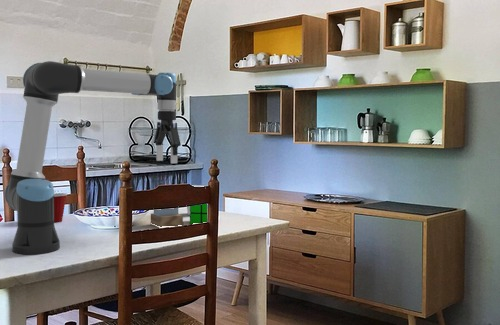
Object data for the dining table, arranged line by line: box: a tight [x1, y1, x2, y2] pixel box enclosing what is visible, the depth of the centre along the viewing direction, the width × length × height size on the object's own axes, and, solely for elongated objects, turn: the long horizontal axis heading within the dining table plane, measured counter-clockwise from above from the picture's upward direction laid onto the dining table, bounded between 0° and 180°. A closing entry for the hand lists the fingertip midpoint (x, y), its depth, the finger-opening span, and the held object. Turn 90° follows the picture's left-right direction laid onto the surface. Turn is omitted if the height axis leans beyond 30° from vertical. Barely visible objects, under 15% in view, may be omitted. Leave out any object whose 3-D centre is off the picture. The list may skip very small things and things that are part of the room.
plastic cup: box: [54, 192, 68, 224], centre depth 237 cm, size 11×11×12 cm
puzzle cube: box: [189, 204, 207, 225], centre depth 240 cm, size 10×10×10 cm
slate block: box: [153, 207, 179, 216], centre depth 232 cm, size 9×5×4 cm, turn 122°
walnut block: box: [150, 212, 184, 227], centre depth 233 cm, size 10×10×5 cm
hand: (166, 162), depth 231 cm, fingers open, 13 cm apart
